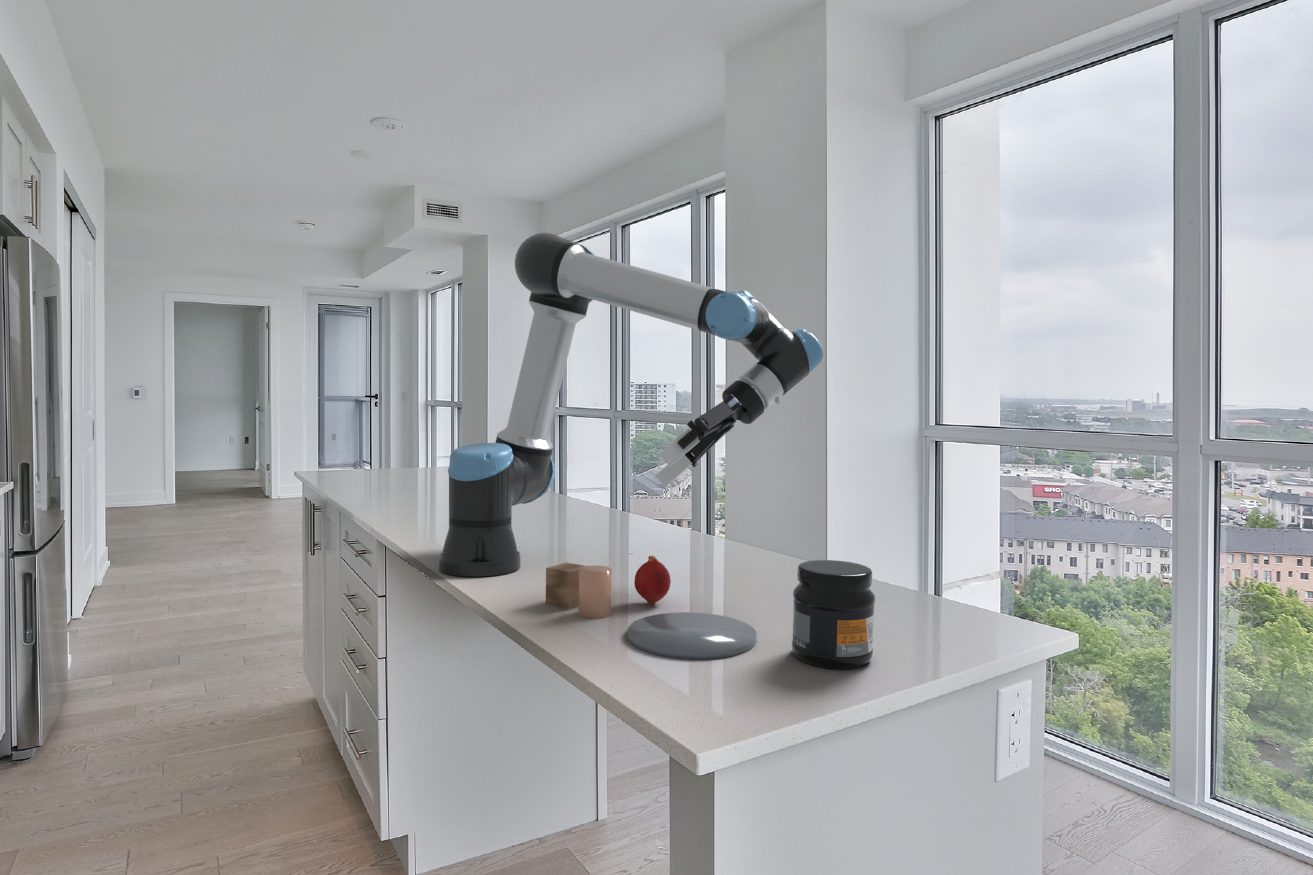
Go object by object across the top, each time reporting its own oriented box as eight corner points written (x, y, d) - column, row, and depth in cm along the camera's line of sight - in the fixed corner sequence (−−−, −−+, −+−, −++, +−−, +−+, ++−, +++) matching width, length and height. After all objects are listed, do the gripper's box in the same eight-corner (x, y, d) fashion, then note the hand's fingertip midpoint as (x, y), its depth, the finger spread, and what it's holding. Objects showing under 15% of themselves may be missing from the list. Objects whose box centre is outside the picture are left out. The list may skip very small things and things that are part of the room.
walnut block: (545, 604, 127) (546, 567, 126) (565, 598, 131) (566, 562, 130) (569, 609, 124) (570, 572, 123) (589, 603, 128) (590, 566, 128)
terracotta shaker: (571, 614, 121) (572, 569, 121) (591, 607, 125) (592, 564, 125) (597, 620, 118) (598, 574, 118) (617, 613, 123) (618, 568, 122)
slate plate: (601, 641, 109) (602, 634, 108) (671, 612, 124) (671, 605, 124) (717, 668, 99) (717, 661, 99) (777, 633, 114) (777, 626, 114)
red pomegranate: (652, 597, 132) (653, 550, 132) (677, 604, 128) (678, 555, 127) (626, 603, 128) (627, 554, 128) (651, 611, 124) (652, 560, 123)
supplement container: (889, 666, 101) (893, 573, 100) (818, 675, 97) (821, 579, 97) (842, 641, 111) (845, 556, 110) (776, 648, 107) (779, 561, 106)
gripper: (780, 384, 128) (683, 467, 123) (754, 432, 151) (672, 503, 146) (747, 351, 129) (650, 432, 124) (727, 404, 153) (645, 474, 148)
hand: (662, 471), depth 135 cm, fingers open, 13 cm apart
